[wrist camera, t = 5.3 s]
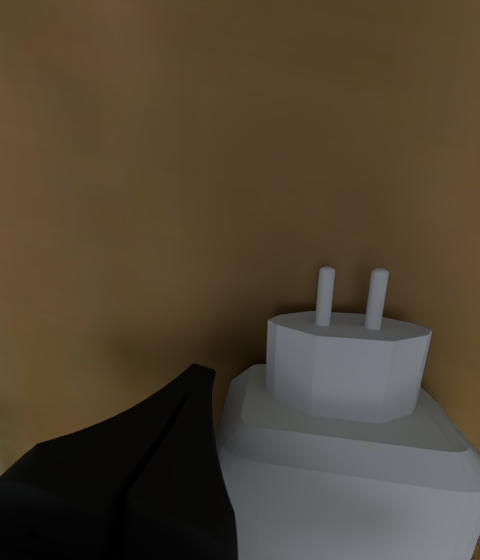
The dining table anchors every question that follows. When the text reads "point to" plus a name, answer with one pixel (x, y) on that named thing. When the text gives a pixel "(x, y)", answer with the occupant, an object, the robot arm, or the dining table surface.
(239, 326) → the dining table surface
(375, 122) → the dining table surface
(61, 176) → the dining table surface
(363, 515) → the charger
